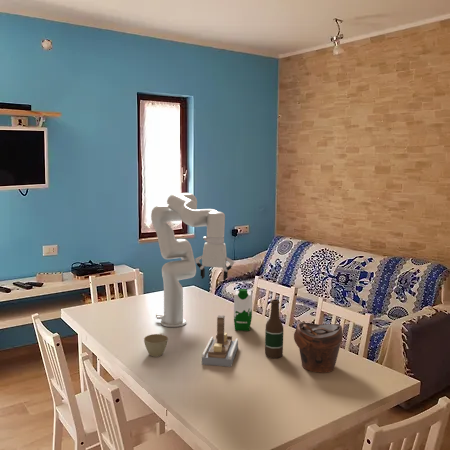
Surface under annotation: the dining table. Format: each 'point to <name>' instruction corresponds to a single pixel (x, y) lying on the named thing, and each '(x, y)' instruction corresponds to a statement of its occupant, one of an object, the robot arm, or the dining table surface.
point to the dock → (220, 361)
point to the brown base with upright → (220, 340)
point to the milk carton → (242, 310)
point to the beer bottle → (274, 333)
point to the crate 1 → (217, 347)
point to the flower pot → (155, 344)
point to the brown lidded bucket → (318, 345)
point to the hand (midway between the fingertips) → (213, 278)
